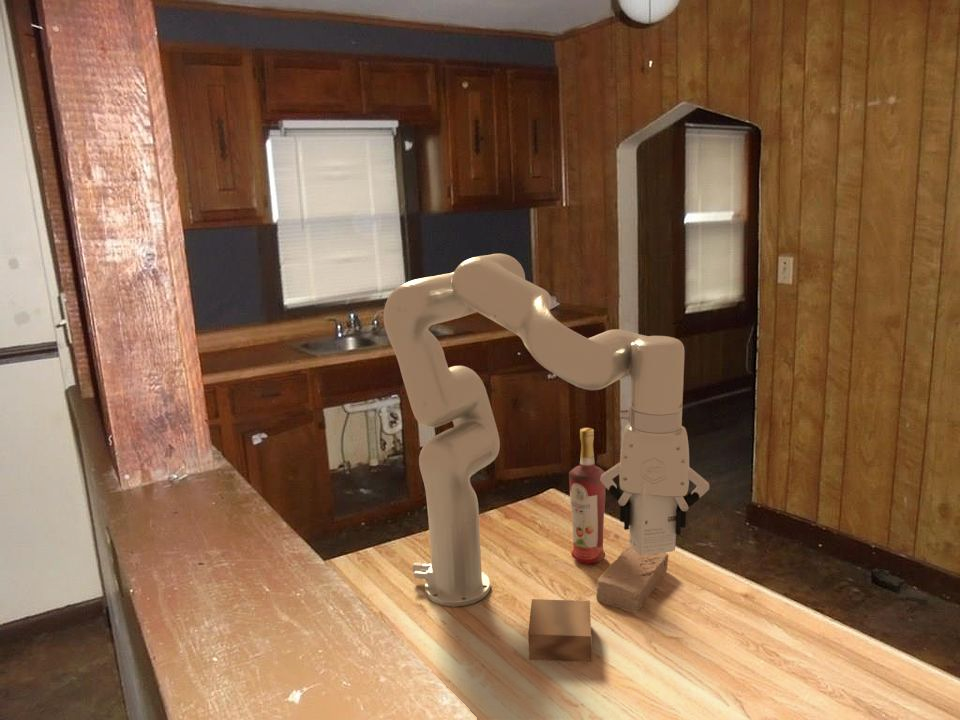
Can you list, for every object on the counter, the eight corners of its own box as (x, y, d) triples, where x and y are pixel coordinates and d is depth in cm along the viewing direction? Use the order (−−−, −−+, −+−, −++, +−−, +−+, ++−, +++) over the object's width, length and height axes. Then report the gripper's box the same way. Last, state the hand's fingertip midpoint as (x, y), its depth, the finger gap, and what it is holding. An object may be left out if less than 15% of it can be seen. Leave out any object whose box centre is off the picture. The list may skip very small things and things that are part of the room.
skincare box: (640, 557, 106) (642, 482, 103) (627, 543, 110) (629, 471, 107) (677, 551, 107) (680, 477, 105) (663, 537, 112) (665, 466, 109)
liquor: (613, 558, 143) (612, 428, 137) (593, 572, 138) (592, 438, 132) (583, 547, 148) (581, 421, 142) (563, 561, 143) (560, 431, 136)
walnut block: (529, 661, 113) (528, 634, 112) (532, 624, 123) (531, 599, 122) (591, 663, 112) (591, 636, 111) (590, 626, 121) (589, 600, 120)
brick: (637, 615, 124) (637, 591, 123) (594, 602, 129) (594, 578, 128) (669, 573, 137) (669, 551, 136) (628, 562, 142) (629, 541, 141)
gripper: (594, 423, 103) (593, 534, 107) (718, 431, 98) (712, 546, 102) (599, 408, 110) (598, 512, 114) (715, 414, 105) (710, 523, 109)
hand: (652, 527), depth 108 cm, fingers closed on skincare box, 7 cm apart
